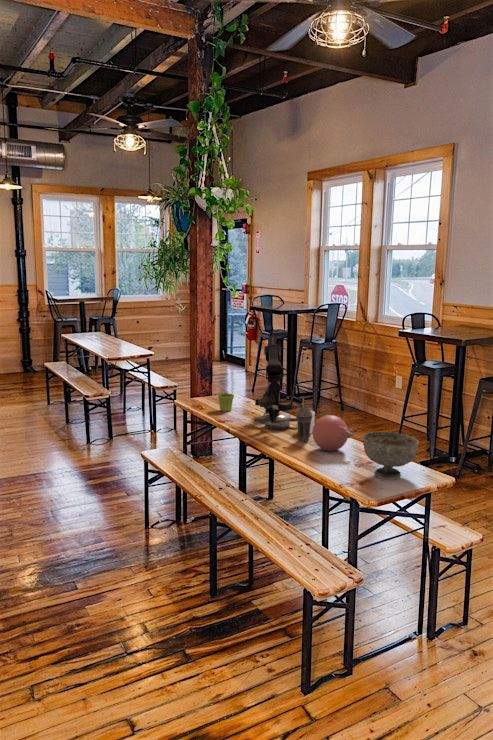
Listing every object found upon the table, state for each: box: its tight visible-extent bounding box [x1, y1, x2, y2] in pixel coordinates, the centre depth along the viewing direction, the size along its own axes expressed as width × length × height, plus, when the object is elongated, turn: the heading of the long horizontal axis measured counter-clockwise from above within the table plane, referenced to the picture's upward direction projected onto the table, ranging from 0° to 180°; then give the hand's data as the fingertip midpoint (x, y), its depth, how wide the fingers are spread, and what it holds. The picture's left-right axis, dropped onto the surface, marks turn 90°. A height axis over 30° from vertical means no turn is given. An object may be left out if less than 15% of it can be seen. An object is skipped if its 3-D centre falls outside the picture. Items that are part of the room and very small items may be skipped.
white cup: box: [309, 410, 316, 435], centre depth 279 cm, size 8×8×10 cm
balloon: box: [312, 414, 354, 452], centre depth 249 cm, size 15×20×15 cm
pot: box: [253, 417, 297, 431], centre depth 289 cm, size 12×23×4 cm, turn 92°
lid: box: [256, 411, 292, 425], centre depth 285 cm, size 21×13×2 cm, turn 142°
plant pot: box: [217, 393, 235, 413], centre depth 320 cm, size 9×9×9 cm
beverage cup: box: [295, 398, 312, 443], centre depth 264 cm, size 7×7×20 cm
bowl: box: [362, 431, 420, 481], centre depth 221 cm, size 20×19×15 cm
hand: (273, 422), depth 276 cm, fingers closed
